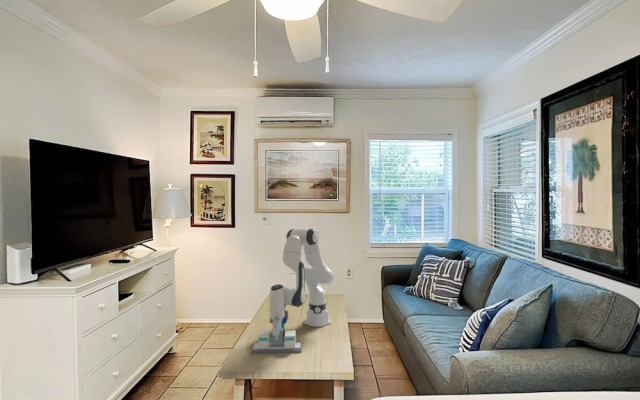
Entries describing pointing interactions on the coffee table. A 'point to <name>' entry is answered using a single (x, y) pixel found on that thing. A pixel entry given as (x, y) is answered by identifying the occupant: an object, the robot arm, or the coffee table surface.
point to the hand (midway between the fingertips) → (277, 337)
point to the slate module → (280, 339)
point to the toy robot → (282, 320)
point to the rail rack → (268, 347)
